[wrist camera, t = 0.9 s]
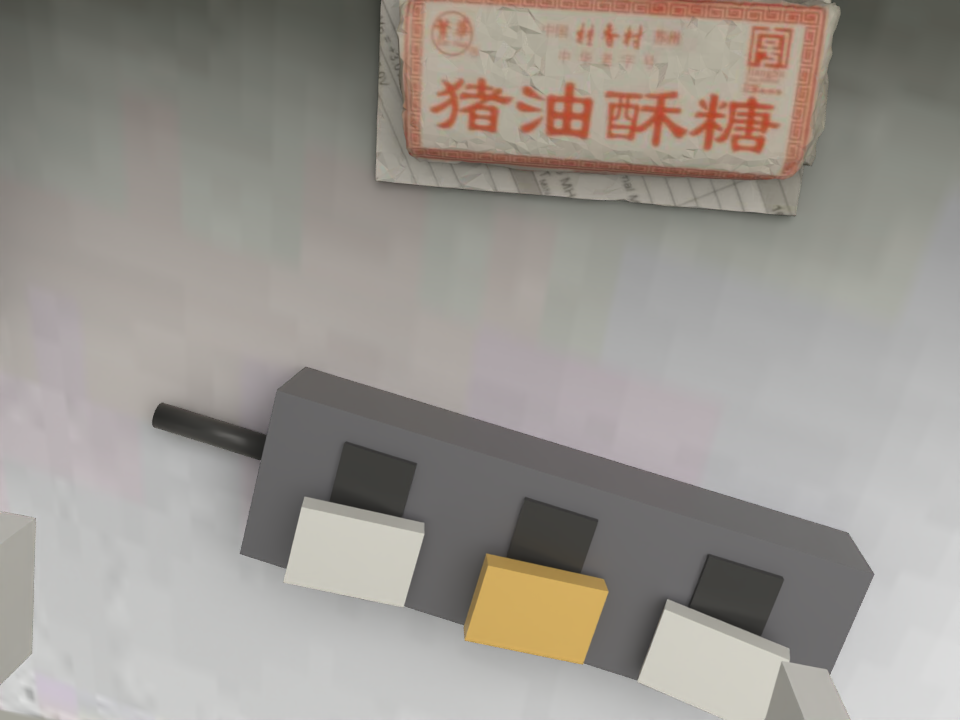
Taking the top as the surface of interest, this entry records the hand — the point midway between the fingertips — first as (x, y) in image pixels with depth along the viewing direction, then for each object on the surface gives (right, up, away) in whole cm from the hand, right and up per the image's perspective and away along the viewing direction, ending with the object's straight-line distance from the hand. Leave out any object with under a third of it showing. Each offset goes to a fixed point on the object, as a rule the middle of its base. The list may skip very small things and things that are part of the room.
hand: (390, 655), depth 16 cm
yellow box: (+4, -5, +23) cm, 24 cm away
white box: (-4, -3, +24) cm, 24 cm away
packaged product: (+6, +17, +23) cm, 29 cm away
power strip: (+2, -2, +27) cm, 27 cm away
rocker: (+11, -7, +23) cm, 27 cm away
